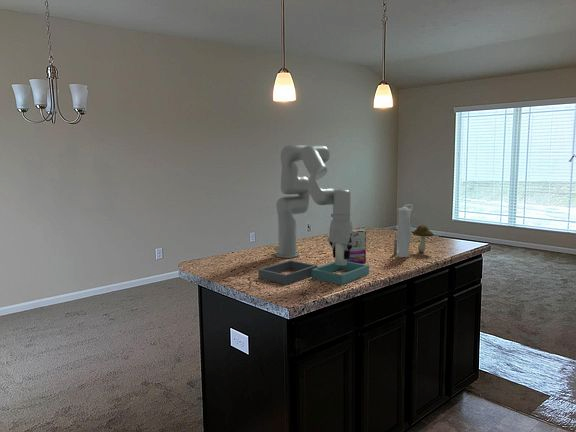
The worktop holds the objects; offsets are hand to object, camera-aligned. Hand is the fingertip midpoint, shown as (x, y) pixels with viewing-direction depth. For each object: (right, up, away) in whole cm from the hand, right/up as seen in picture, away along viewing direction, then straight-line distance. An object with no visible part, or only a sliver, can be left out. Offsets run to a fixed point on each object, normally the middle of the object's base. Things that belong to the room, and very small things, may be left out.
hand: (341, 257), depth 204 cm
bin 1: (-24, -8, +2) cm, 25 cm away
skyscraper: (+37, -3, +39) cm, 54 cm away
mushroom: (+50, -2, +48) cm, 69 cm away
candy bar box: (+9, -5, +26) cm, 28 cm away
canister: (0, -3, 0) cm, 3 cm away
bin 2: (0, -8, +1) cm, 9 cm away
